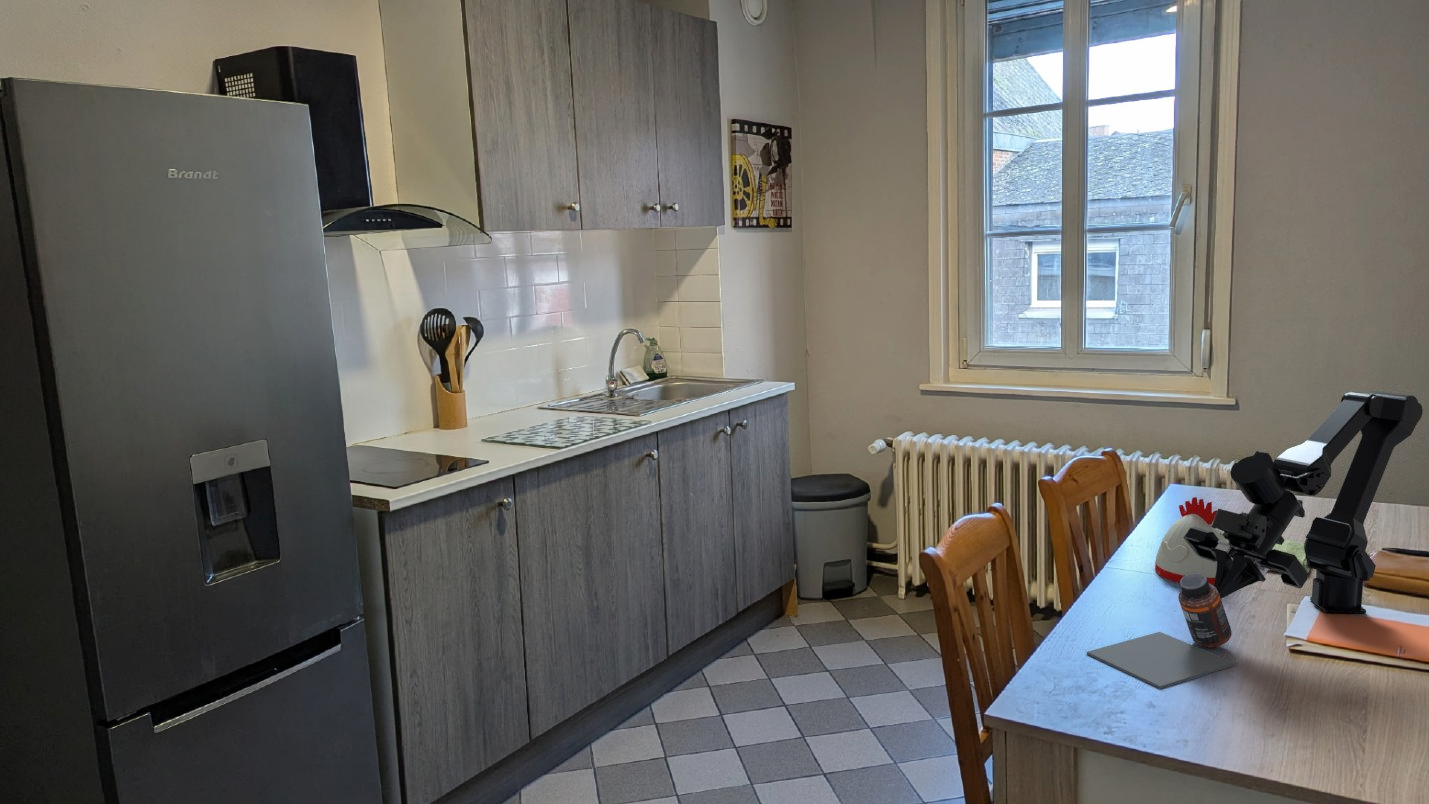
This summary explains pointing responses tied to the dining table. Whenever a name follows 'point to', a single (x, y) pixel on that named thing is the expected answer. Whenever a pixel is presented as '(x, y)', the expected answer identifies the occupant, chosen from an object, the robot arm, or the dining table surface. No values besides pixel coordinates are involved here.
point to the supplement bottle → (1203, 611)
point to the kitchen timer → (1177, 553)
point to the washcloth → (1294, 551)
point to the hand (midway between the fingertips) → (1215, 597)
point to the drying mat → (1160, 659)
